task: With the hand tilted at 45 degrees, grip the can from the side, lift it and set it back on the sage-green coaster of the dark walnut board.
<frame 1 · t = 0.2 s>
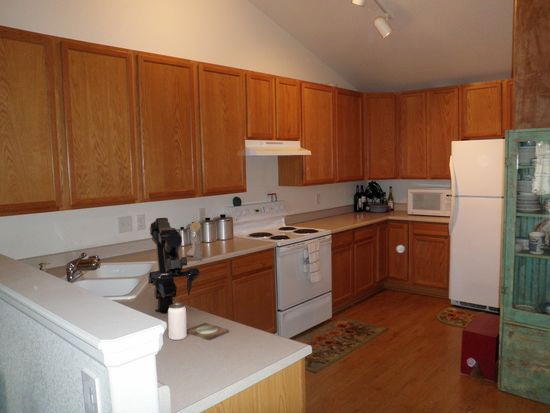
hand: (176, 296, 166), 14 cm above the worktop, tool tilted 35°, fingers open, 9 cm apart
can: (177, 337, 164), on the worktop
salt shaker: (198, 260, 302), on the worktop
coaster board: (207, 332, 168), on the worktop
flower in vase: (195, 256, 317), on the worktop
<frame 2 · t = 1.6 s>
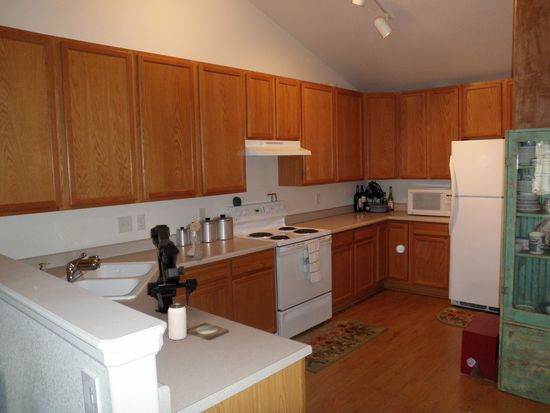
hand: (175, 306, 166), 11 cm above the worktop, tool tilted 45°, fingers open, 9 cm apart
nothing on the worktop moved.
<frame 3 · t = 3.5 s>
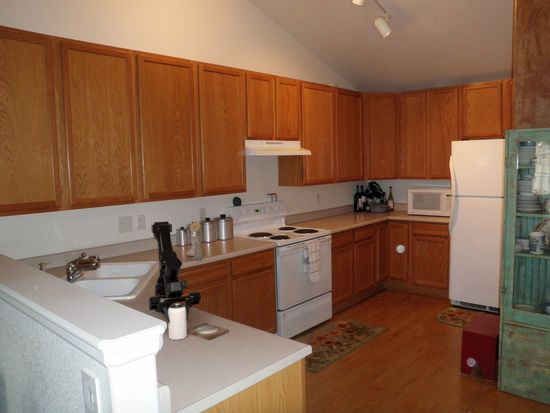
hand: (178, 321, 162), 7 cm above the worktop, tool tilted 45°, fingers closed on can, 6 cm apart
can: (177, 337, 164), on the worktop, touching gripper
everything else where it was.
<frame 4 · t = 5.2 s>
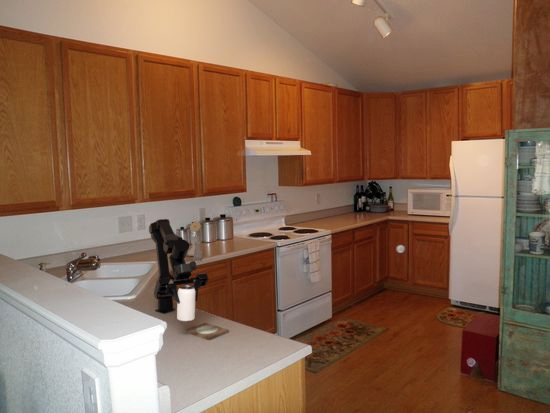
hand: (188, 302, 162), 13 cm above the worktop, tool tilted 45°, fingers closed on can, 6 cm apart
can: (185, 319, 164), point 6 cm above the worktop, touching gripper
everything else where it was.
when the fingers open (9 cm above the worktop, at t = 7.3 s): can stays where it is, resting on coaster board.
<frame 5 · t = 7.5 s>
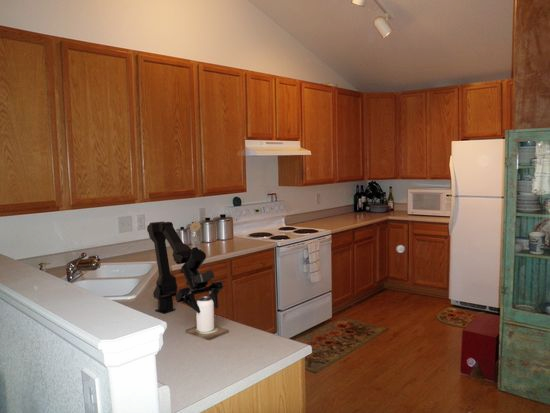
hand: (208, 310, 166), 9 cm above the worktop, tool tilted 45°, fingers open, 7 cm apart
can: (205, 330, 168), point 1 cm above the worktop, touching coaster board, gripper
everything else where it was.
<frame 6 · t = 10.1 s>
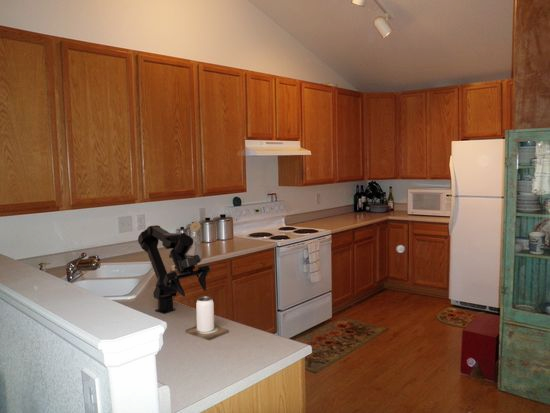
hand: (195, 293, 173), 13 cm above the worktop, tool tilted 45°, fingers open, 9 cm apart
can: (205, 330, 168), point 1 cm above the worktop, touching coaster board
everything else where it was.
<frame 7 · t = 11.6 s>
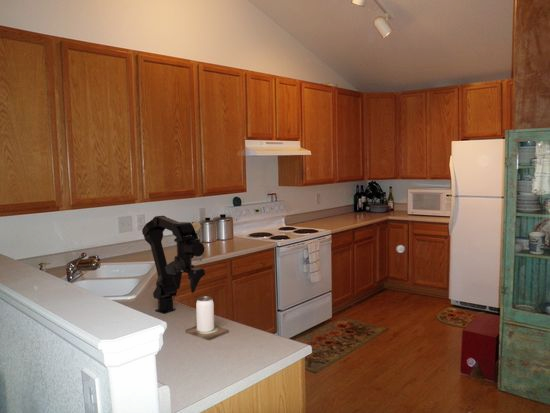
hand: (185, 290, 182), 12 cm above the worktop, tool pointing down, fingers open, 9 cm apart
nothing on the worktop moved.
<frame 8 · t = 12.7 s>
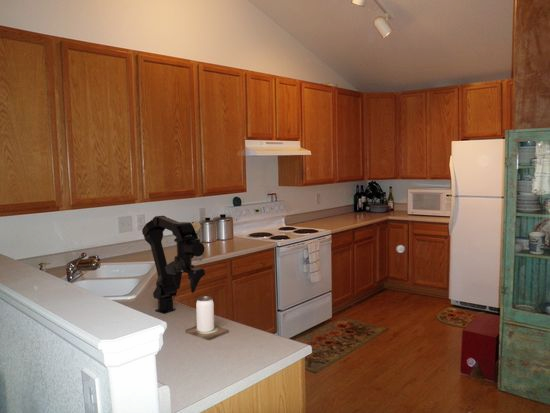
hand: (185, 290, 182), 12 cm above the worktop, tool pointing down, fingers open, 9 cm apart
nothing on the worktop moved.
at the end: can 0.6 cm off-centre on the coaster board, point 1.0 cm above the coaster board's base; can tilted 0°; the gripper is holding nothing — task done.
